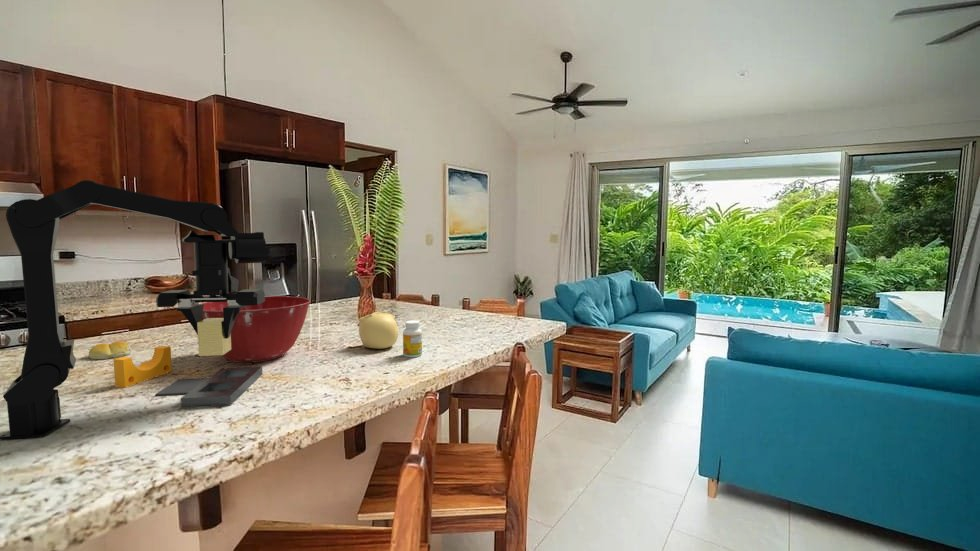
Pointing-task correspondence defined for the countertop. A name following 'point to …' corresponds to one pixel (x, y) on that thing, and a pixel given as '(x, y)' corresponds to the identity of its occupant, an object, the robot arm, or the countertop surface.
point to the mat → (181, 386)
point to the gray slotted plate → (222, 387)
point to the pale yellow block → (212, 337)
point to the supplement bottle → (412, 339)
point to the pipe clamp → (142, 367)
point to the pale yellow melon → (378, 330)
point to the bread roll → (110, 350)
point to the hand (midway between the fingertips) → (214, 338)
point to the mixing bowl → (263, 327)
